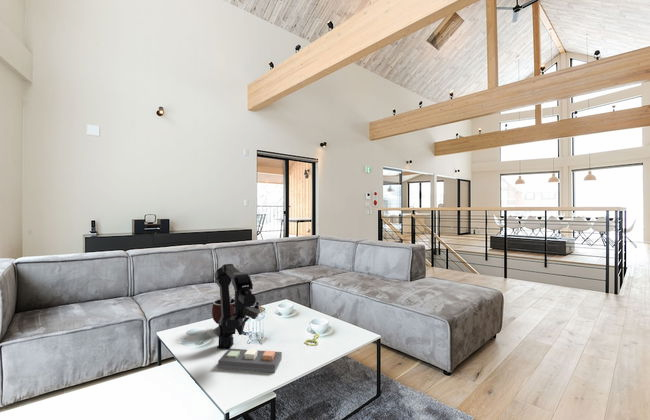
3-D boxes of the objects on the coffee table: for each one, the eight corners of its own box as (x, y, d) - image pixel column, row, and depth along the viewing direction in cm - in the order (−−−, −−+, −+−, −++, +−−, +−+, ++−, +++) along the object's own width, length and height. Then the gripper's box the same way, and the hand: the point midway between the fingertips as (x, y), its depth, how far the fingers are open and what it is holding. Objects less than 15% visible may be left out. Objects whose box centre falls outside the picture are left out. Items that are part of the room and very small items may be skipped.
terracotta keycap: (262, 360, 140) (262, 355, 140) (265, 355, 144) (265, 350, 144) (272, 361, 139) (272, 355, 139) (275, 356, 144) (275, 351, 144)
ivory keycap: (244, 359, 141) (244, 353, 141) (248, 354, 145) (248, 349, 145) (254, 360, 140) (254, 354, 140) (257, 355, 145) (257, 349, 145)
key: (319, 337, 174) (319, 333, 174) (317, 346, 162) (317, 342, 162) (306, 336, 175) (307, 332, 175) (304, 346, 163) (304, 342, 163)
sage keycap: (226, 360, 142) (226, 355, 142) (230, 355, 146) (230, 350, 146) (236, 361, 141) (236, 356, 141) (240, 356, 146) (240, 351, 146)
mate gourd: (227, 336, 171) (228, 301, 171) (206, 333, 175) (207, 298, 175) (242, 326, 186) (243, 293, 186) (222, 323, 190) (223, 291, 190)
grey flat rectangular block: (218, 368, 138) (218, 360, 138) (229, 355, 150) (229, 348, 150) (274, 372, 136) (275, 364, 136) (281, 359, 148) (281, 352, 147)
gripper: (250, 308, 133) (249, 344, 133) (264, 296, 151) (263, 328, 151) (225, 307, 134) (225, 343, 134) (242, 295, 153) (242, 326, 153)
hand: (240, 334), depth 143 cm, fingers closed
